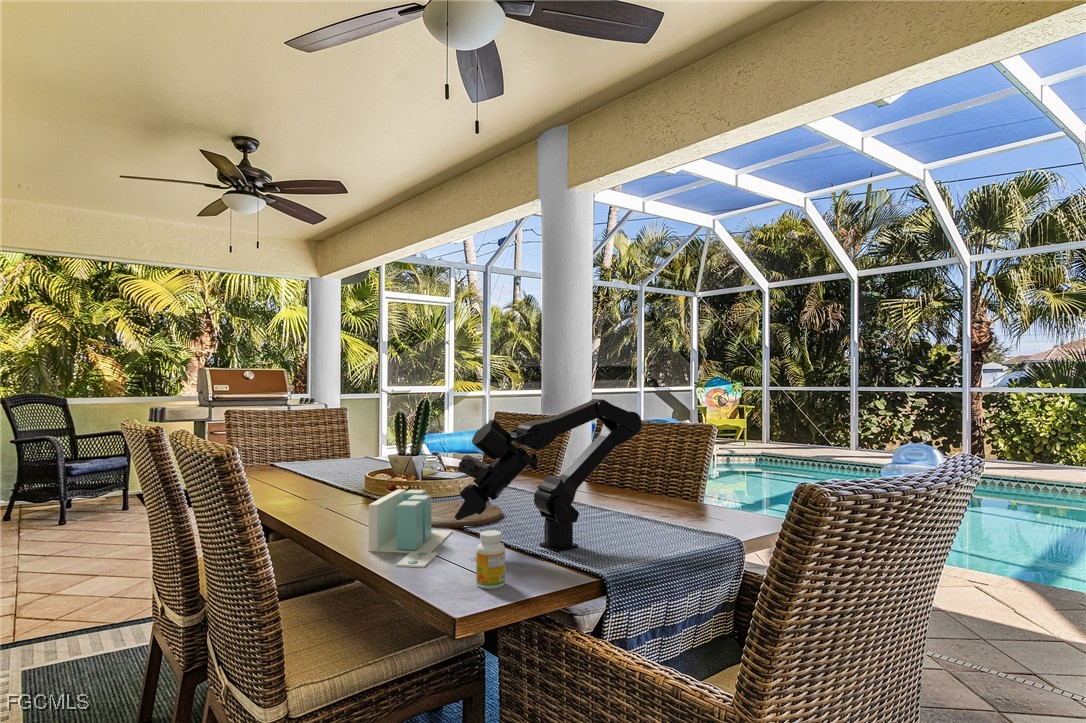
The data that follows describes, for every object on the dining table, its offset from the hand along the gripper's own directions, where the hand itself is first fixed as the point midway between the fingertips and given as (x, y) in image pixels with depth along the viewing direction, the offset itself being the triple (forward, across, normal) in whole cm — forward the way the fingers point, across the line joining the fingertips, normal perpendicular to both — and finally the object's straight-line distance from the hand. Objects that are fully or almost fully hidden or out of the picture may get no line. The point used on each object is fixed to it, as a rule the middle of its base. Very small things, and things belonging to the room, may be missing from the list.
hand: (456, 518), depth 142 cm
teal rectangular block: (+15, -13, -5) cm, 21 cm away
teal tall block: (+13, 0, -2) cm, 13 cm away
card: (+10, +8, +1) cm, 12 cm away
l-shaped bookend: (+14, -7, -4) cm, 16 cm away
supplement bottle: (-3, +20, +14) cm, 25 cm away
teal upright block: (+13, -7, -2) cm, 15 cm away
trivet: (+12, -32, -1) cm, 34 cm away
